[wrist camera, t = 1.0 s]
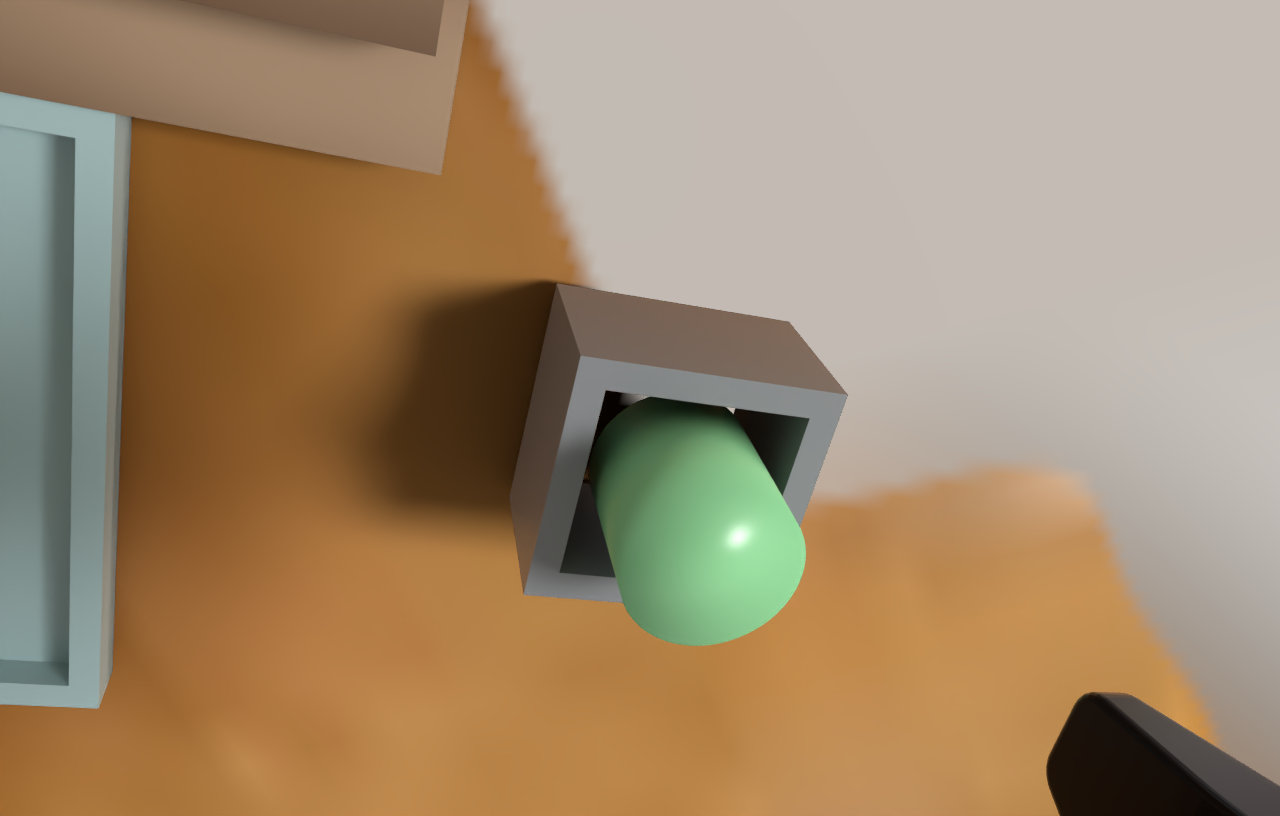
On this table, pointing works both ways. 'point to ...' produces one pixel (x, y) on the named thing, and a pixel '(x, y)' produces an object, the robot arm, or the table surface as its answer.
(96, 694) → the light blue square tray
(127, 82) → the brown compartment tray
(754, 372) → the button housing
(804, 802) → the table surface
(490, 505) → the table surface
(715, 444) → the button
